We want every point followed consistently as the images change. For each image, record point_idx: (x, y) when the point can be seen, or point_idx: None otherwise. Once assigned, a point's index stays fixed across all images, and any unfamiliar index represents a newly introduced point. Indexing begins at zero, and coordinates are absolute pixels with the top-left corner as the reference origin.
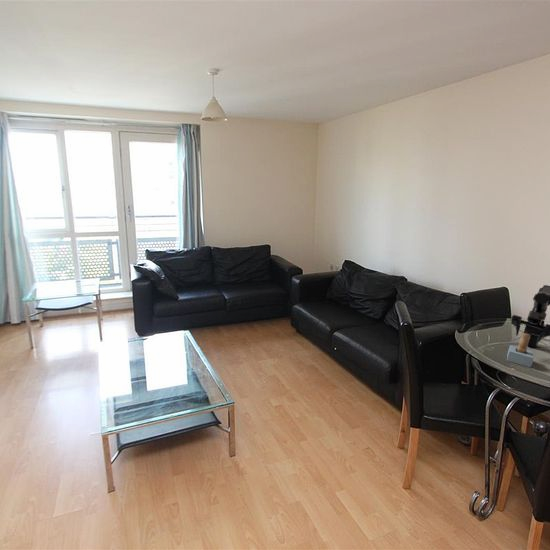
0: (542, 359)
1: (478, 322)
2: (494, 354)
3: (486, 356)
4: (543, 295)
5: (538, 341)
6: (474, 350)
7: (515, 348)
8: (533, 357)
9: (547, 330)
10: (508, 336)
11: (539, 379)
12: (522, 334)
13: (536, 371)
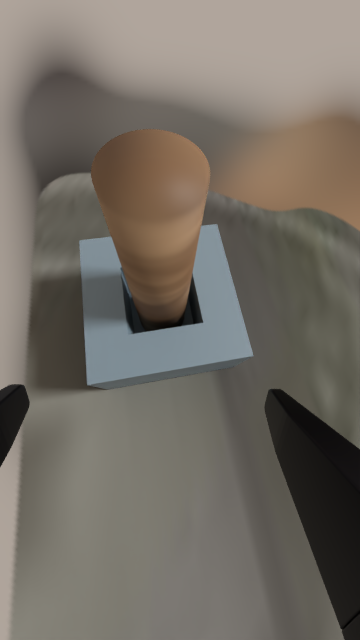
0: (37, 506)
1: None
2: (273, 287)
3: (284, 229)
4: None
5: (10, 385)
6: (350, 250)
7: (203, 313)
8: (80, 251)
9: None
10: None
11: (59, 183)
12: (192, 149)
13: (72, 254)
